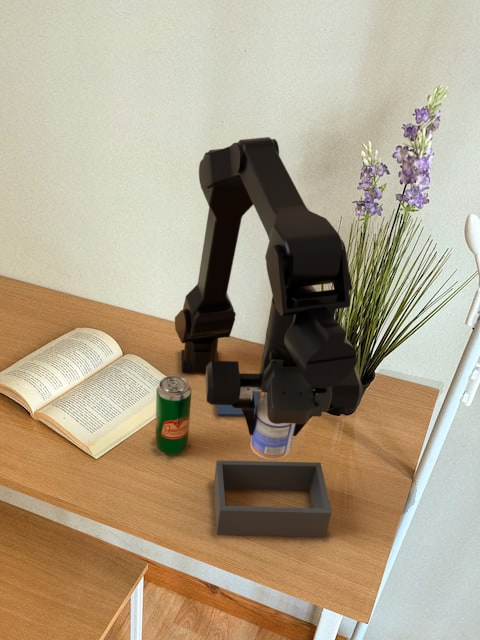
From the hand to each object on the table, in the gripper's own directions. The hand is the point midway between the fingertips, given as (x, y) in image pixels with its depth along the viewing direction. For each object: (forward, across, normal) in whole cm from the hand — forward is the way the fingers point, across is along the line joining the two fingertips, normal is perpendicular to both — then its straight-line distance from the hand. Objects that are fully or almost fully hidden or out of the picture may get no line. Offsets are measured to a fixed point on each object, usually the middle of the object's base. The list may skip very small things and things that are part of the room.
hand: (272, 433), depth 93 cm
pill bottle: (+3, 0, 0) cm, 3 cm away
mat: (+12, -2, +20) cm, 23 cm away
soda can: (+12, -13, +9) cm, 20 cm away
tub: (+11, 0, -4) cm, 12 cm away
